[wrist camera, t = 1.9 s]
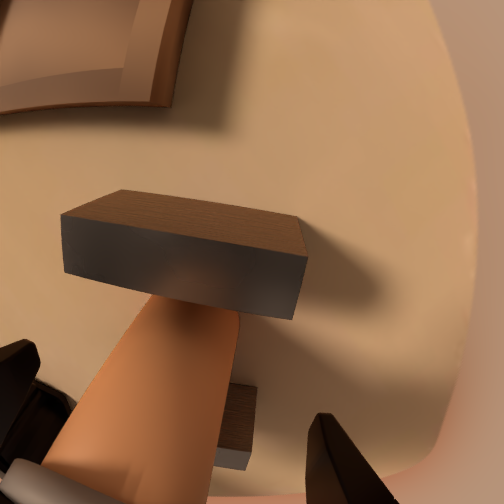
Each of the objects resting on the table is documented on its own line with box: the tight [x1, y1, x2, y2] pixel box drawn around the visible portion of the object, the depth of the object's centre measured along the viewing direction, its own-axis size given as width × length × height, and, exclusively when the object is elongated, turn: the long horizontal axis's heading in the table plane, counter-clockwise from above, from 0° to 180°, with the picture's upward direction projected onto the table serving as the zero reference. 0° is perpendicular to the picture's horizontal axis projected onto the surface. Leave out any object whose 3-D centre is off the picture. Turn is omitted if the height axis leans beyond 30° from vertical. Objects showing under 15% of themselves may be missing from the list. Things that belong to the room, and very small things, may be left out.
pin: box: [0, 294, 240, 504], centre depth 7 cm, size 5×5×9 cm
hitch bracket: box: [61, 190, 308, 471], centre depth 10 cm, size 9×6×4 cm, turn 171°
